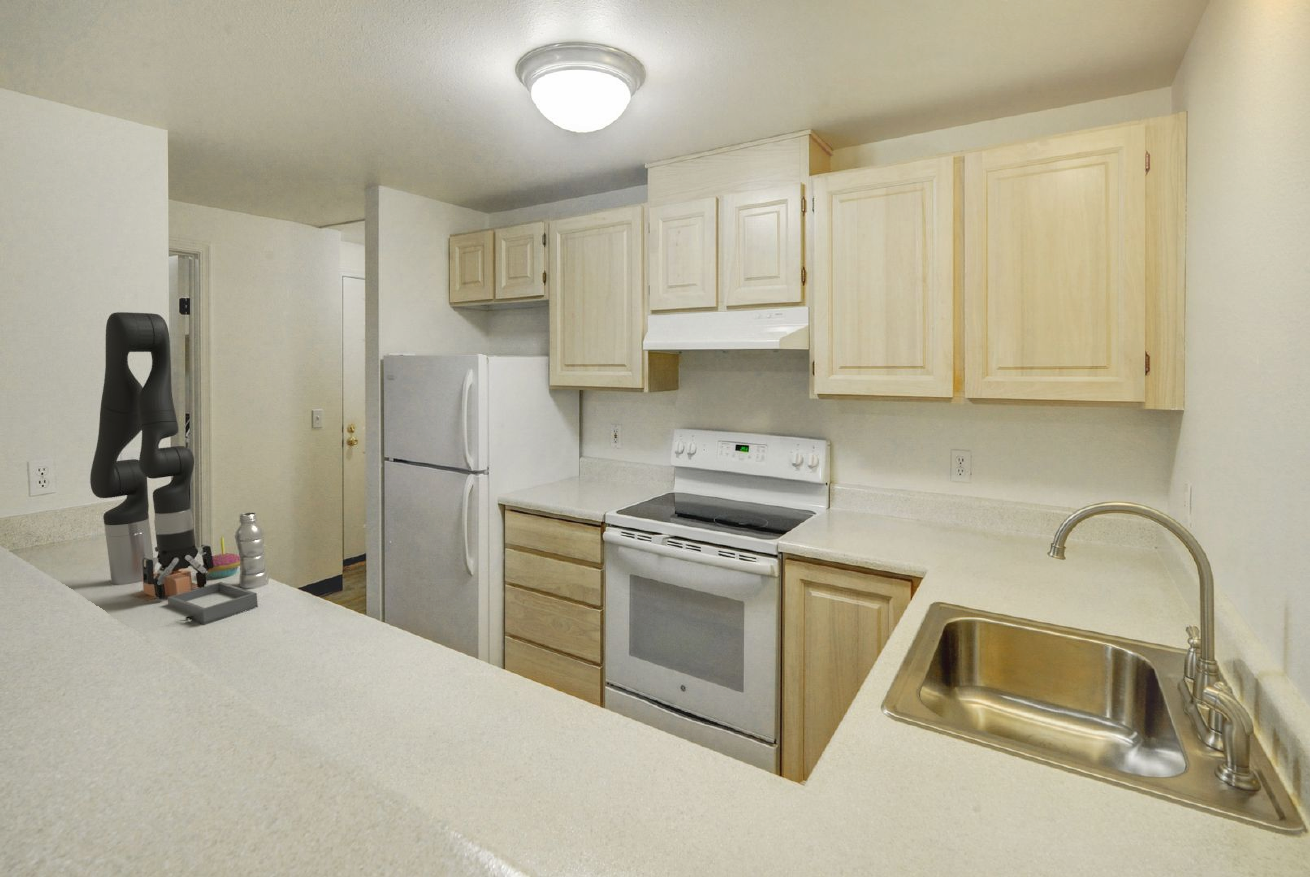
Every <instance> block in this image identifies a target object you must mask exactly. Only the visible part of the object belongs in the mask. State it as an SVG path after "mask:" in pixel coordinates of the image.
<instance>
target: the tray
mask: <svg viewBox="0 0 1310 877" xmlns="http://www.w3.org/2000/svg"><path fill="white" fill-rule="evenodd" d="M218 592H221V593H223V594H227V595H229V596H233V597H234V598H233V599H229V600H226V601H223V602H219V603H216V604H213V605H210V606H207V607H203V606H200V605H198V604H195V603H192V602H189V601H192V600H195V599H199V598H202V597H205V596H208V595H213V594H215V593H218ZM166 597H167V605H168V606H169V607H172V608H174V609H177V610H179V611H182V612H185V613H188V614H189V615H188V616H185V618H186V619H189V620H191V621H192V622H193V621H194V622H196V623H199V624H201V625H204V626H205V625H207V624H211V623H214V622H218V621H220V620H223V619H227V618H229V617H232V615H233V616H235V615H234V614H236V615H239V614H241V613H240V612H242V613H244V612H243V611H245V610H248V611H251V610H254V609H256V608H255V607H257V608H258V607H259V605H258V594H257V592H254V591H251V590H249V589H242V588H241V587H237V586H236V585H231V584H228V583H225V582H222V581H220V582H216V583H213V584H212V583H211V584H209V585H205V587H202V588H198V587H197V588H193V589H191V591H187V592H184V593H180V594H177V595H173V596H170V595H169V596H166ZM235 597H236V598H235ZM253 608H254V609H253ZM250 609H251V610H250ZM245 612H246V611H245ZM238 613H239V614H238Z"/></svg>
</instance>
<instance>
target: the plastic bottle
mask: <svg viewBox="0 0 1310 877" xmlns="http://www.w3.org/2000/svg"><path fill="white" fill-rule="evenodd" d="M238 517H239V523H240V525H239V526H238V528H237V530H236V531H235V534H234V538H235V539H234V540H235V543H236V547H237V550H238V556H239V557H240V566H239V576H238V577H239V579H238V583H239V588H242V589H245V590H252V589H258V588H261V587H265V586H267V585H269V579H270V578H269V574H268V571H267V568H266V563H265V556H264V542H265V532H264V529H263V528H262V527H261V526H260V525H259V524H258V523H257V521H258V518H257V514H256V512H244V513H240V514H239V516H238ZM266 578H267V579H266Z"/></svg>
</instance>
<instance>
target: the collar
mask: <svg viewBox="0 0 1310 877" xmlns="http://www.w3.org/2000/svg"><path fill="white" fill-rule="evenodd" d="M191 572H192V571H191V570H188V569H186V568H185V569H180V570H178V571H171V573H170V574H171V575H169V576H167V577H166V578H165V580H164V582H163V583H162V584H164V587H165V595H166V597H168V596H169V597H170V596H173V595H177V594H180V593H184V592H187V591H191V590H193V589H192V583H193V581H192V573H191ZM156 574H157V571H155V572H154V577H155V576H156ZM142 588H143V591H144V593H146V594H148V595H151V596H154V597H156V596H155V589H154V584H151V585H149V584H147V583H144V582H143V575H142ZM167 595H168V596H167ZM157 599H159V598H158V597H157Z"/></svg>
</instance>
